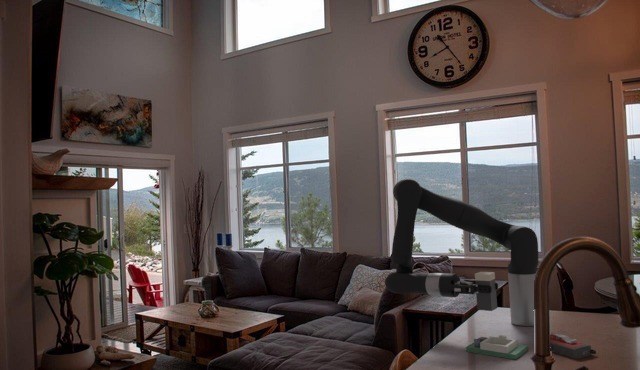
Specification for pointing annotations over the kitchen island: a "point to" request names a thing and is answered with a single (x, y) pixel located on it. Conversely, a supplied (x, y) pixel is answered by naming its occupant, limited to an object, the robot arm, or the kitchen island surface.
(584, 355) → the walkie-talkie
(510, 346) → the controller board
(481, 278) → the grey and cream block
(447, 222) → the robot arm
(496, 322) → the kitchen island surface
